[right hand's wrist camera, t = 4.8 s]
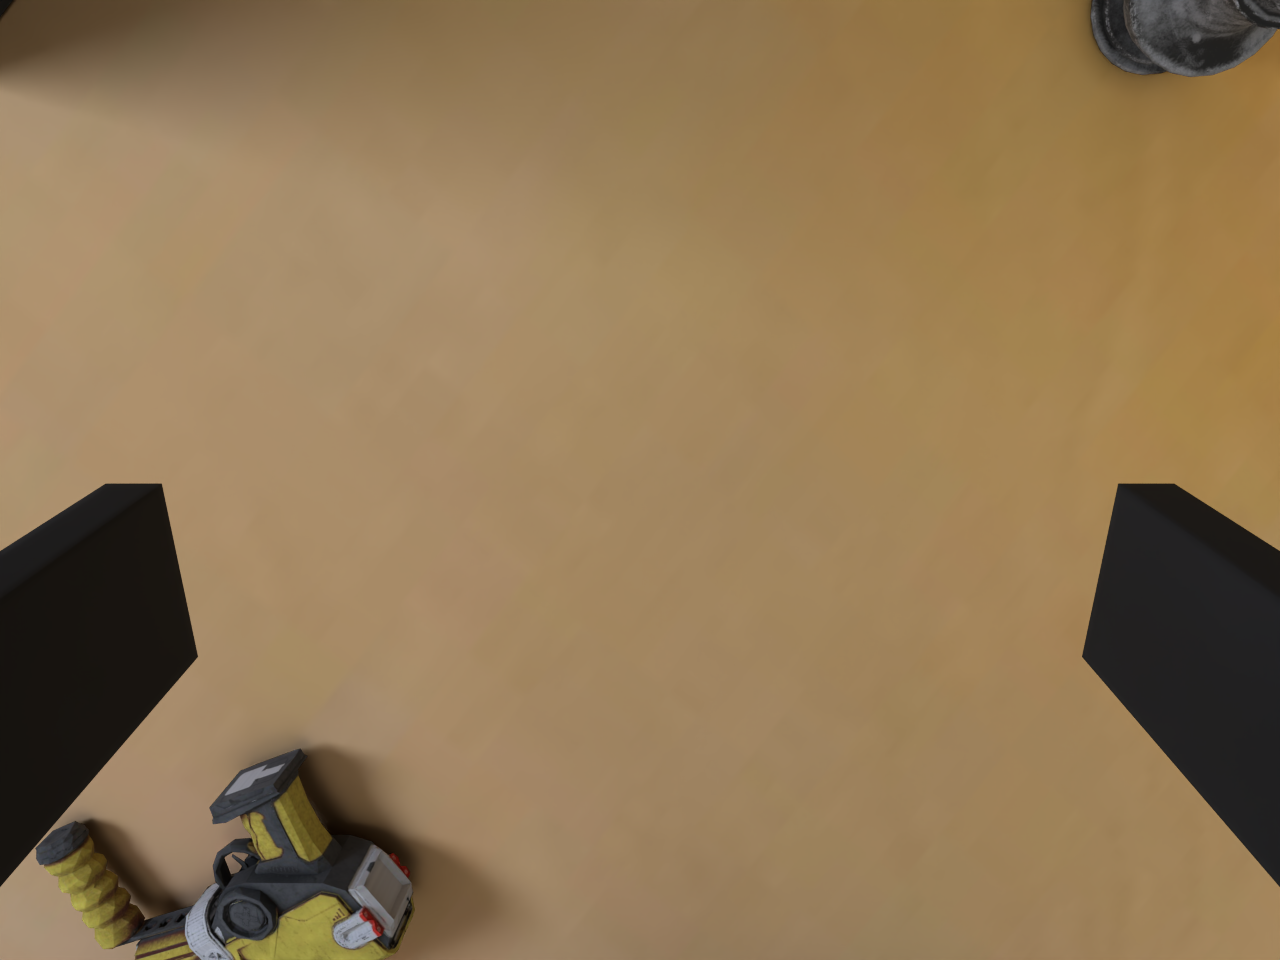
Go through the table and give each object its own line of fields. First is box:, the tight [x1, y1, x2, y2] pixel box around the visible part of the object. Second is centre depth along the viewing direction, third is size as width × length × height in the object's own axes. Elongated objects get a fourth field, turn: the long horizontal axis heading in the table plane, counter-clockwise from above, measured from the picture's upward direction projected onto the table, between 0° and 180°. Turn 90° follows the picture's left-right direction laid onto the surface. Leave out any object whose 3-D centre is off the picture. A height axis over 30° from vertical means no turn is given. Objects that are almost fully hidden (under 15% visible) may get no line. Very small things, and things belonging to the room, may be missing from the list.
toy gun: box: [35, 748, 415, 960], centre depth 49 cm, size 5×24×15 cm
